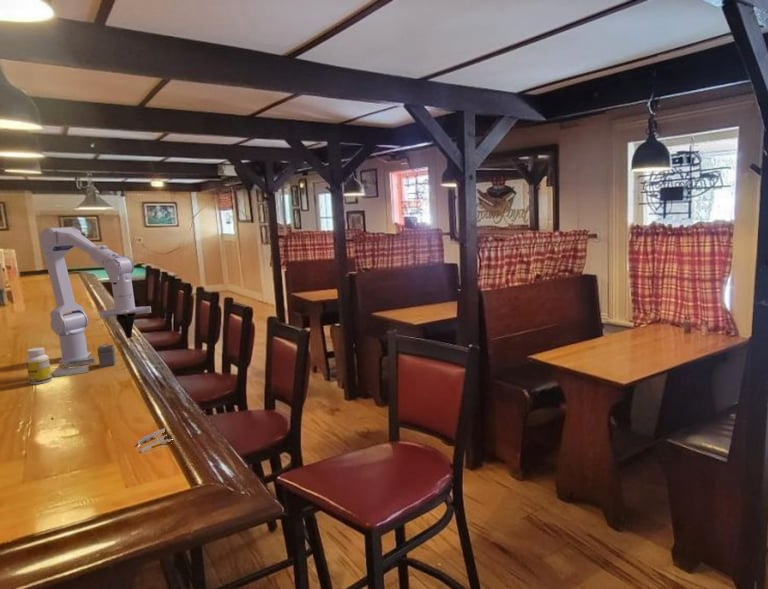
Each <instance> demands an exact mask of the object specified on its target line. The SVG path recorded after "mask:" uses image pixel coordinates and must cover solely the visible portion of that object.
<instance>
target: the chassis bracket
mask: <svg viewBox="0 0 768 589" xmlns="http://www.w3.org/2000/svg"><path fill="white" fill-rule="evenodd" d="M93 363H94V364H96V357H87V358H85V359H77V360H70V361H63V362H60V364H59V365H58V366H57V368H55V370H54V371H53V377H54V378H57V377H59V378H60V377H65V376H71V375H72V376H73V375H78V374H87V373H90V371H89V370H90V365H94V364H93ZM86 364H87V365H86ZM86 372H87V373H86Z"/></svg>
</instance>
